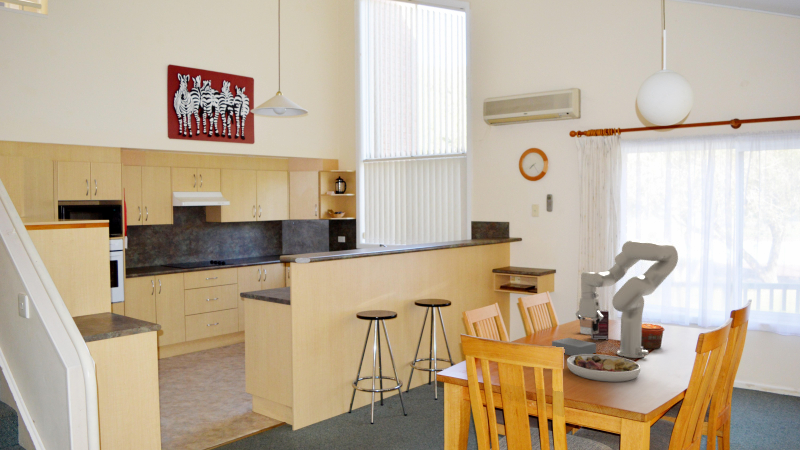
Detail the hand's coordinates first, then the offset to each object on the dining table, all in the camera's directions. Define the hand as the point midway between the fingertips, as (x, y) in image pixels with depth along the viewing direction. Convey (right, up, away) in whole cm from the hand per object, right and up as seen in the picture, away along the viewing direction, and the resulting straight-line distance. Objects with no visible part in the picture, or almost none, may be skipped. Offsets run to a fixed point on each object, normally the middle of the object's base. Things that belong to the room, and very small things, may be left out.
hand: (589, 329), depth 302 cm
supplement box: (+12, -9, +19) cm, 24 cm away
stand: (-12, -9, -13) cm, 20 cm away
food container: (+31, -9, +3) cm, 33 cm away
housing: (0, -2, 0) cm, 2 cm away
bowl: (-11, -10, -51) cm, 53 cm away
